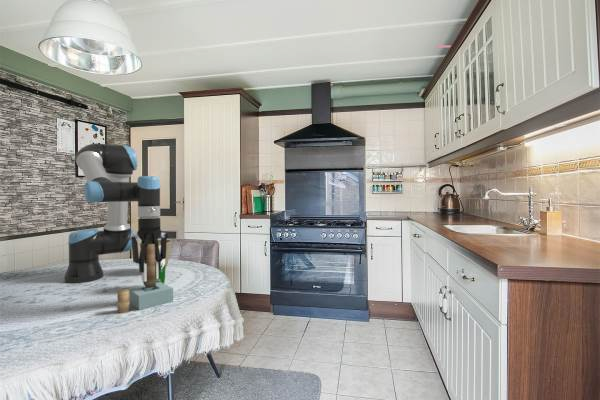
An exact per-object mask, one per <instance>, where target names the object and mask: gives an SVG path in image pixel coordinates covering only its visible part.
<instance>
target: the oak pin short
mask: <svg viewBox="0 0 600 400" xmlns="http://www.w3.org/2000/svg"><path fill="white" fill-rule="evenodd" d="M116 295H117V299H116V300H117V313H118V314H125V312H126V313H128V312H130V308H131V306H130V305H131V304H130V299H129V290H128V288H127V289H120V290H117V294H116Z"/></svg>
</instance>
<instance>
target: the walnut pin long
mask: <svg viewBox="0 0 600 400" xmlns="http://www.w3.org/2000/svg"><path fill="white" fill-rule="evenodd" d="M145 263H146V265H147V281H146V282H145V287H146V288H152V287H155V286H156V269H155V244H153V243H148V245H147V250H146V255H145Z"/></svg>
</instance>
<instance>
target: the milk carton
mask: <svg viewBox="0 0 600 400" xmlns="http://www.w3.org/2000/svg"><path fill="white" fill-rule="evenodd" d="M149 243H151V242H149ZM158 246H159V251H160V250H161V245H158ZM155 261H156V259H155ZM144 263H145V261H144ZM158 275H159V279H156V283H157V282H162V283H164V284H165V282H166V281H165V280H166V270H165V259H163V260H162V261H161V269H160V270H158ZM142 283H143V285H145V282H144V281H142Z"/></svg>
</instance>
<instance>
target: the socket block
mask: <svg viewBox="0 0 600 400" xmlns="http://www.w3.org/2000/svg"><path fill="white" fill-rule="evenodd" d="M127 290H129V299H130V305H132V306H133V307H134V308H135V309H137V310H139V311H142V310H145V309H148V308H149V309H150V308H152V307H156V306H160V305H164V304H168V303H171V302H174V287H172V286H170V285H167V284H165V282H164V283H162V282H157V283H156V286H155V287H152V288H146V287H145V285H144V284H143V285H139V286H133V287H129V288H127Z"/></svg>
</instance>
